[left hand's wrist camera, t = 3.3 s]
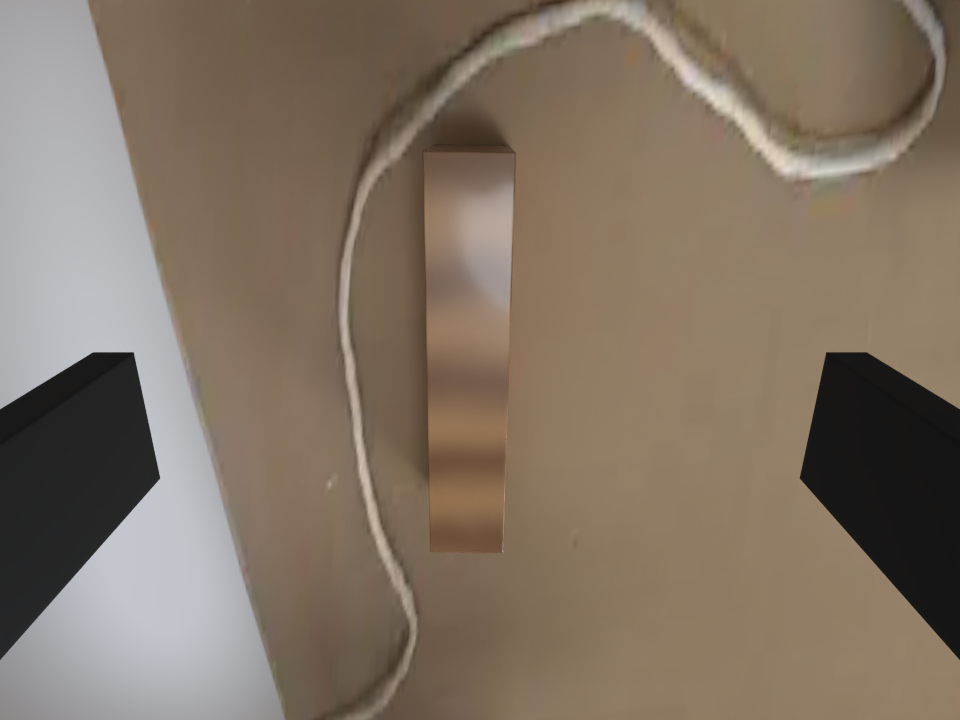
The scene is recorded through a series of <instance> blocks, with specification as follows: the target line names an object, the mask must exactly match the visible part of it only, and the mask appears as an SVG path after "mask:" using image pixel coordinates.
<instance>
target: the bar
mask: <svg viewBox="0 0 960 720" xmlns="http://www.w3.org/2000/svg"><path fill="white" fill-rule="evenodd" d="M515 168H516V153H515V152H514V150H513V149H512V148H511V147H510V146H492V145H433V146H431V147H430V148H428V149H426V150H425V151H423V187H424V241H425V296H426V350H427V404H428V458H429V512H430V551H431V552H467V553H503V541H504V510H505V479H506V448H507V417H508V386H509V355H510V324H511V293H512V261H513V230H514V199H515Z"/></svg>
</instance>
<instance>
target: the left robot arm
mask: <svg viewBox="0 0 960 720" xmlns="http://www.w3.org/2000/svg"><path fill="white" fill-rule="evenodd" d="M159 479H160V475H159V471H158V466H157V461H156V456H155V452H154V447H153V442H152V438H151V433H150V428H149V423H148V419H147V414H146V409H145V404H144V399H143V395H142V390H141V385H140V381H139V376H138V371H137V366H136V362H135V357H134V353H133V352H130V353H129V352H128V353H126V352H125V353H124V352H118V353H117V352H115V353H114V352H112V353H111V352H109V353H107V352H100V353H99V352H96V353H92V354H90V355H88V356H87V357H85V358H83V359H82V360H80V361H78V362H77V363H75V364H74V365H72V366H70V367H69V368H67V369H65V370H64V371H62V372H60V373H59V374H57V375H56V376H54V377H52V378H51V379H49V380H47V381H46V382H44V383H43V384H41V385H39V386H38V387H36V388H34V389H33V390H31V391H29V392H28V393H26V394H25V395H23V396H21V397H20V398H18V399H16V400H15V401H13V402H12V403H10V404H8V405H7V406H5V407H3V408H2V409H0V659H1V658H2V657H3V656H4V655H5V654H6V653H7V652H8V650H9V649H10V648H11V647H12V646H13V645H14V644H15V642H16V641H17V640H18V639H19V638H20V637H21V636H22V635H23V633H24V632H25V631H26V630H27V629H28V628H29V627H30V625H31V624H32V623H33V622H34V621H35V620H36V619H37V618H38V616H39V615H40V614H41V613H42V612H43V611H44V610H45V608H46V607H47V606H48V605H49V604H50V603H51V602H52V600H53V599H54V598H55V597H56V596H57V595H58V594H59V593H60V591H61V590H62V589H63V588H64V587H65V586H66V585H67V584H68V582H69V581H70V580H71V579H72V578H73V577H74V576H75V574H76V573H77V572H78V571H79V570H80V569H81V568H82V566H83V565H84V564H85V563H86V562H87V561H88V560H89V559H90V557H91V556H92V555H93V554H94V553H95V552H96V551H97V549H98V548H99V547H100V546H101V545H102V544H103V543H104V542H105V540H106V539H107V538H108V537H109V536H110V535H111V533H112V532H113V531H114V530H115V529H116V528H117V527H118V526H119V525H120V523H121V522H122V521H123V520H124V519H125V518H126V517H127V515H128V514H129V513H130V512H131V511H132V510H133V509H134V507H135V506H136V505H137V504H138V503H139V502H140V501H141V500H142V498H143V497H144V496H145V495H146V494H147V493H148V492H149V490H150V489H151V488H152V487H153V486H154V485H155V484H156V483H157V481H158V480H159ZM800 479H801V480H802V481H803V483H804V484H805V485H806V486H807V487H808V488H809V489H810V490H811V492H812V493H813V494H814V495H815V496H816V497H817V498H818V500H819V501H820V502H821V503H822V504H823V505H824V506H825V507H826V509H827V510H828V511H829V512H830V513H831V514H832V515H833V517H834V518H835V519H836V520H837V521H838V522H839V523H840V525H841V526H842V527H843V528H844V529H845V530H846V531H847V532H848V534H849V535H850V536H851V537H852V538H853V539H854V540H855V542H856V543H857V544H858V545H859V546H860V547H861V548H862V549H863V551H864V552H865V553H866V554H867V555H868V556H869V557H870V559H871V560H872V561H873V562H874V563H875V564H876V565H877V566H878V568H879V569H880V570H881V571H882V572H883V573H884V574H885V576H886V577H887V578H888V579H889V580H890V581H891V582H892V584H893V585H894V586H895V587H896V588H897V589H898V590H899V591H900V593H901V594H902V595H903V596H904V597H905V598H906V599H907V601H908V602H909V603H910V604H911V605H912V606H913V607H914V608H915V610H916V611H917V612H918V613H919V614H920V615H921V616H922V618H923V619H924V620H925V621H926V622H927V623H928V624H929V625H930V627H931V628H932V629H933V630H934V631H935V632H936V633H937V635H938V636H939V637H940V638H941V639H942V640H943V641H944V642H945V644H946V645H947V646H948V647H949V648H950V649H951V650H952V652H953V653H954V654H955V655H956V656H957V657H958V658H959V660H960V409H958V408H957V407H955V406H953V405H952V404H950V403H948V402H947V401H945V400H944V399H942V398H940V397H939V396H937V395H935V394H934V393H932V392H931V391H929V390H927V389H926V388H924V387H922V386H921V385H919V384H917V383H916V382H914V381H913V380H911V379H909V378H908V377H906V376H904V375H903V374H901V373H900V372H898V371H896V370H895V369H893V368H891V367H890V366H888V365H886V364H885V363H883V362H882V361H880V360H878V359H877V358H875V357H873V356H872V355H870V354H868V353H867V352H826V357H825V362H824V366H823V371H822V376H821V381H820V385H819V390H818V395H817V399H816V404H815V409H814V414H813V418H812V423H811V428H810V433H809V437H808V442H807V447H806V452H805V456H804V461H803V466H802V471H801V475H800Z"/></svg>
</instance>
